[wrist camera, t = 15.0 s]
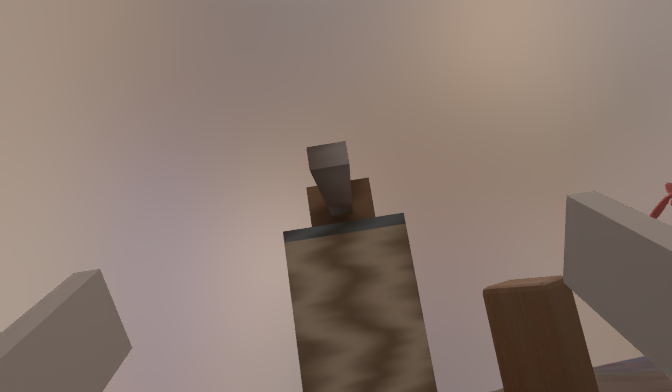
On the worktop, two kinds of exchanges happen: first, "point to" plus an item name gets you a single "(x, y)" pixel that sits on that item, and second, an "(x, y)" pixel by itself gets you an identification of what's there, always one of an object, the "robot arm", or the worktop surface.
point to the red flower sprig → (662, 202)
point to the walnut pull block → (336, 187)
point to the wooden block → (538, 336)
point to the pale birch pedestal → (358, 308)
